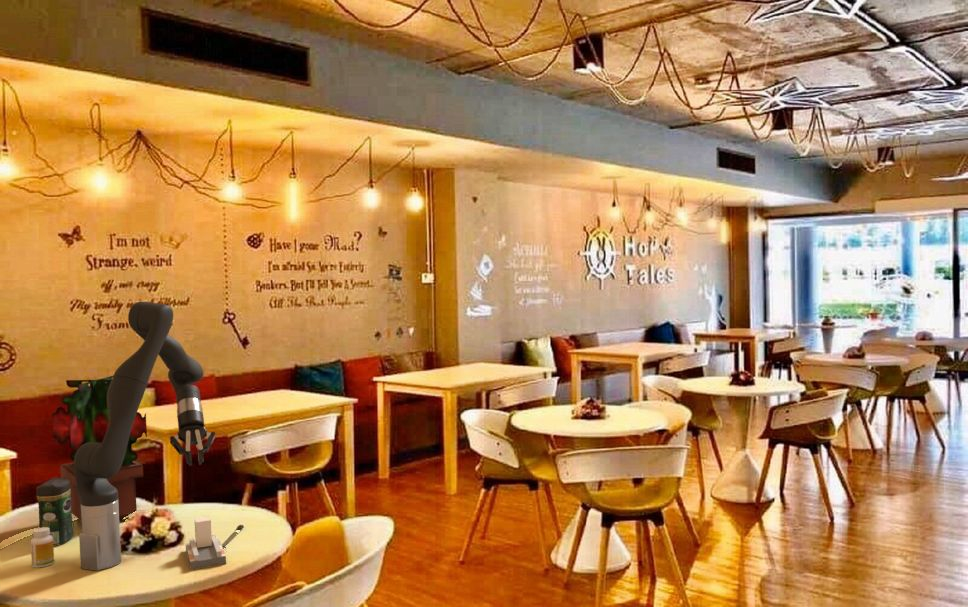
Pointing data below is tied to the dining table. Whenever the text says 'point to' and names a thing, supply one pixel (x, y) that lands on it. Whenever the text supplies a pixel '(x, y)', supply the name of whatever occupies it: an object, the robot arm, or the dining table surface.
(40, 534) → the supplement bottle
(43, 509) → the coffee jar
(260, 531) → the dining table surface
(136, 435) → the potted plant
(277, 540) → the dining table surface
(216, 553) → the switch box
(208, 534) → the switch tab
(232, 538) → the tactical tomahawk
